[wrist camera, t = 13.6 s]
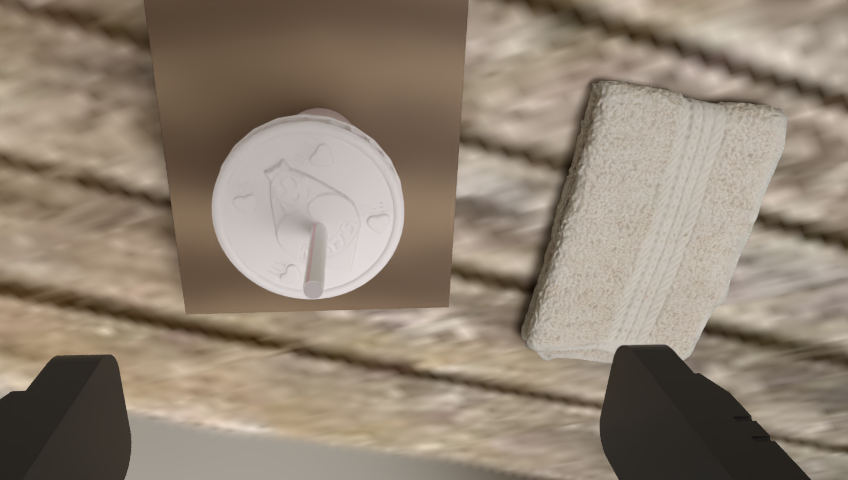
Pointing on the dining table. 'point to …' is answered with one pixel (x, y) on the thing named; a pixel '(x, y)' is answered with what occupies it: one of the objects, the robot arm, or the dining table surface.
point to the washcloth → (650, 221)
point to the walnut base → (301, 90)
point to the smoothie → (308, 206)
